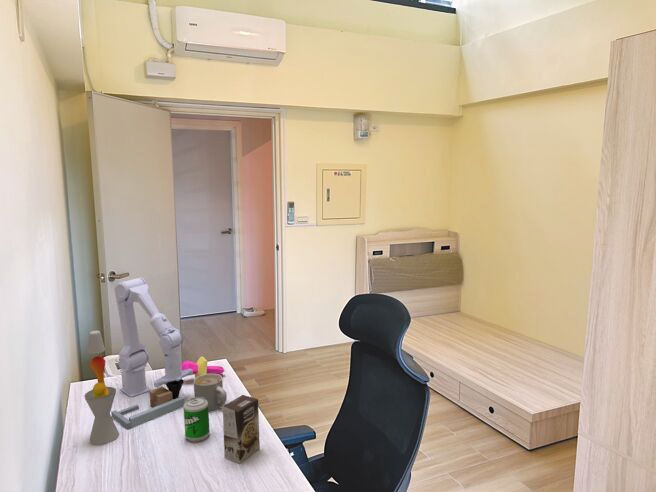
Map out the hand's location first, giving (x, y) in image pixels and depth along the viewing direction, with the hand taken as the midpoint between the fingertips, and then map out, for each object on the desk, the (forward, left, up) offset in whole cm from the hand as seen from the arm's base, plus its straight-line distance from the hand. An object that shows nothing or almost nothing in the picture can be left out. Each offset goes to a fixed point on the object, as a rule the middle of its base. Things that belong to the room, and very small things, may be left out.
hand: (175, 399), depth 174 cm
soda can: (+27, -7, -1) cm, 28 cm away
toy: (-9, +17, -1) cm, 20 cm away
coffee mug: (+14, +7, -1) cm, 15 cm away
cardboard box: (0, -5, -1) cm, 6 cm away
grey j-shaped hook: (0, -9, -1) cm, 9 cm away
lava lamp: (+5, -27, -1) cm, 28 cm away
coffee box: (+45, -3, -1) cm, 45 cm away
